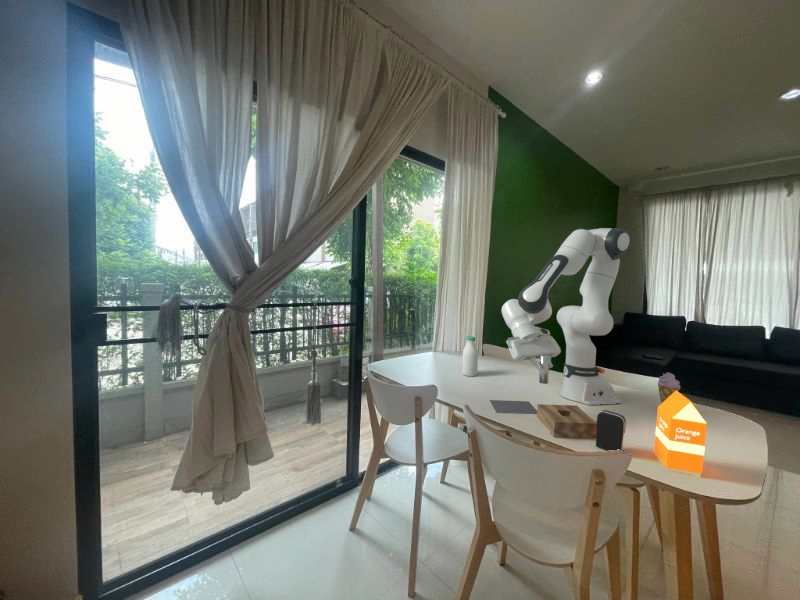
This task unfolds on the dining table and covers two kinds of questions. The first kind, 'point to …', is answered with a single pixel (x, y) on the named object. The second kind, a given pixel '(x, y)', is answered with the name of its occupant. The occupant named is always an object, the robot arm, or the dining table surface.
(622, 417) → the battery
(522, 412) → the mat
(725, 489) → the dining table surface
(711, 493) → the dining table surface
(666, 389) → the ice cream cone
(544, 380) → the pin
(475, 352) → the milk bottle
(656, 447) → the orange juice
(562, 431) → the socket block
